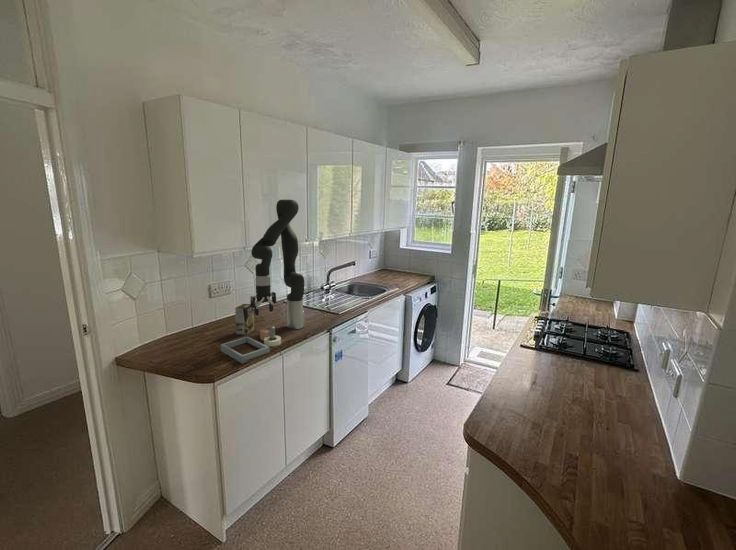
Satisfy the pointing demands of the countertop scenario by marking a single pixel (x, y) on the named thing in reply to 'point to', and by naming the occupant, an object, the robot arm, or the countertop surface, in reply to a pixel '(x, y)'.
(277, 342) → the ring
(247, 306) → the coffee box
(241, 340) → the tray
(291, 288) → the robot arm
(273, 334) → the stake
